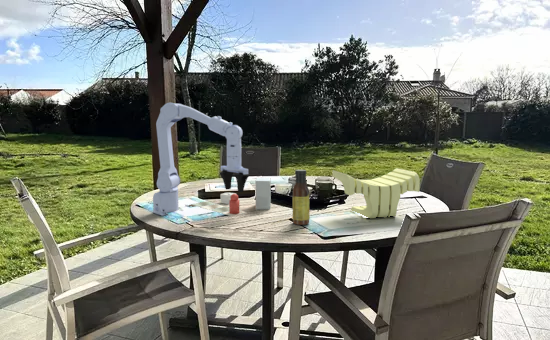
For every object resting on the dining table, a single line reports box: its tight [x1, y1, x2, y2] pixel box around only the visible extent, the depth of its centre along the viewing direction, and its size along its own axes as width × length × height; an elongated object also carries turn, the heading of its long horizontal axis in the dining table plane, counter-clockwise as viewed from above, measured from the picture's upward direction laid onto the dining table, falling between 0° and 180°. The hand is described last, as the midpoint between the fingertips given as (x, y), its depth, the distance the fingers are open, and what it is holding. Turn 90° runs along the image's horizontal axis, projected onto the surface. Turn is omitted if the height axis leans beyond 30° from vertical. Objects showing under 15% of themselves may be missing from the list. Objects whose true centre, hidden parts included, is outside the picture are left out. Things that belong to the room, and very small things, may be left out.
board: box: [188, 201, 248, 217], centre depth 154 cm, size 10×28×1 cm, turn 46°
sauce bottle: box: [292, 169, 311, 226], centre depth 135 cm, size 6×6×20 cm
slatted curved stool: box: [332, 167, 421, 219], centre depth 148 cm, size 30×16×18 cm, turn 106°
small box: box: [255, 177, 272, 210], centre depth 156 cm, size 8×6×13 cm
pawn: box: [228, 193, 240, 214], centre depth 146 cm, size 4×4×8 cm
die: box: [220, 192, 237, 205], centre depth 164 cm, size 5×5×5 cm
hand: (234, 190), depth 146 cm, fingers open, 7 cm apart
